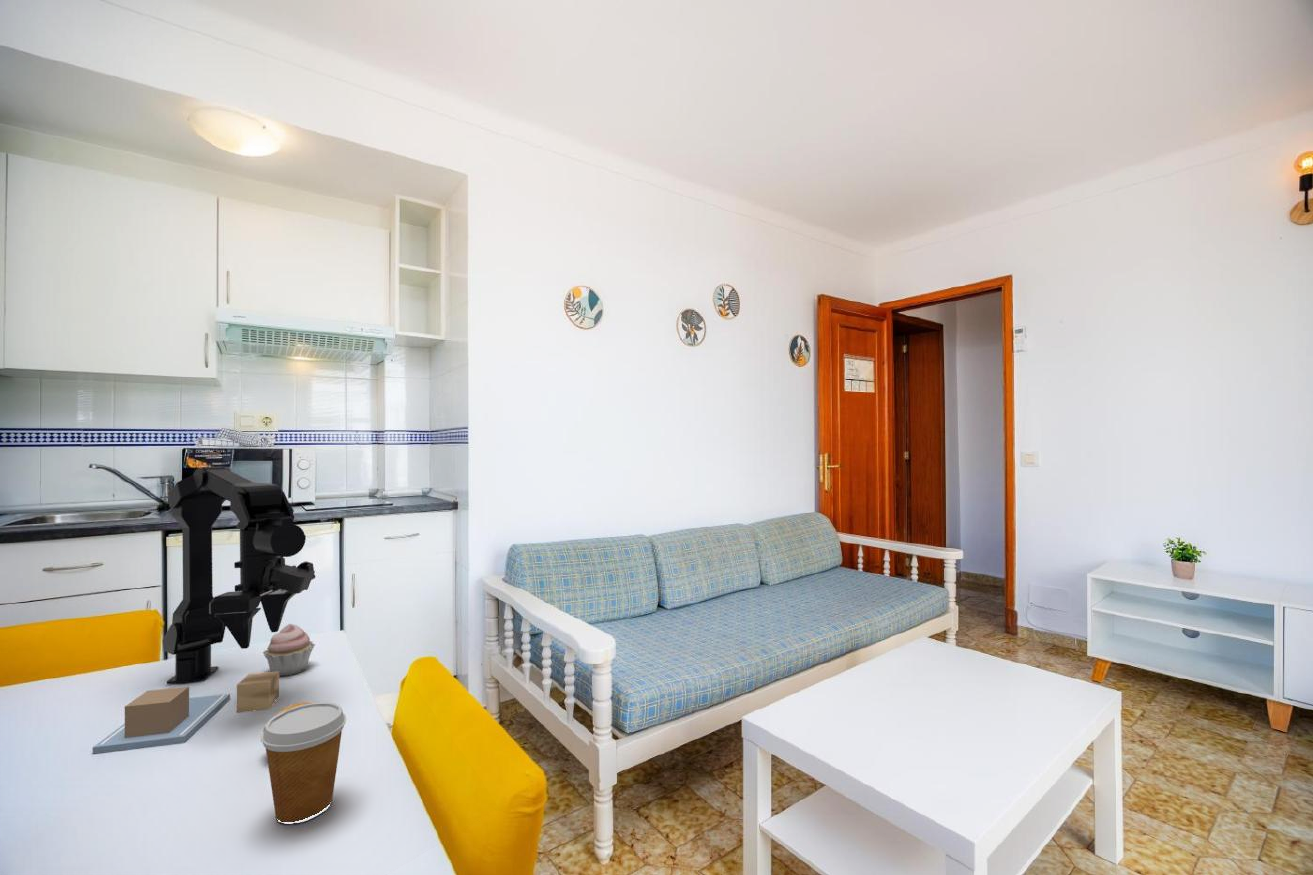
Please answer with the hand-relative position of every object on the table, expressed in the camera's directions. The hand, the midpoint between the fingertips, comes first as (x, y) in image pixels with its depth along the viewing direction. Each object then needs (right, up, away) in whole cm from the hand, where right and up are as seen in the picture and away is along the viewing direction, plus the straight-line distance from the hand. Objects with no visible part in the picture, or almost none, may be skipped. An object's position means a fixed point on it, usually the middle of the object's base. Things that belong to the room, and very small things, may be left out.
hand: (260, 639), depth 102 cm
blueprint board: (-12, -12, -6) cm, 18 cm away
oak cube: (-1, -13, +1) cm, 13 cm away
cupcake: (-6, -13, +17) cm, 22 cm away
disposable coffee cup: (+26, -12, -29) cm, 40 cm away
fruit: (+16, -12, -15) cm, 25 cm away
